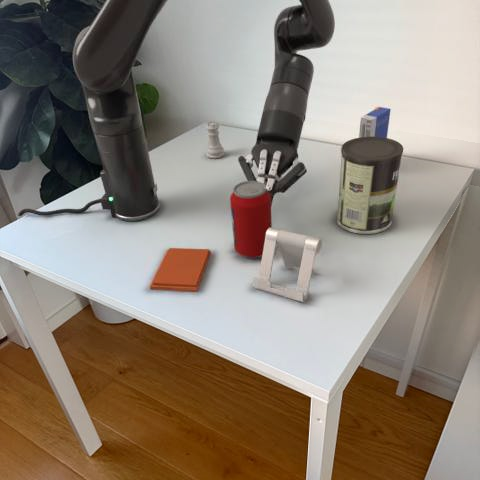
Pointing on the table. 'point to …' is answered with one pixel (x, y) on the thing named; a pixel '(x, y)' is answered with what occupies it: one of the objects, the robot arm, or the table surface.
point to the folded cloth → (181, 269)
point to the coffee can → (368, 184)
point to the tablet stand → (288, 261)
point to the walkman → (375, 123)
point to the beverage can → (250, 217)
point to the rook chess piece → (214, 141)
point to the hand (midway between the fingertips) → (260, 213)
